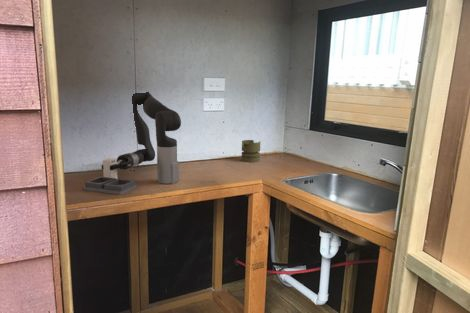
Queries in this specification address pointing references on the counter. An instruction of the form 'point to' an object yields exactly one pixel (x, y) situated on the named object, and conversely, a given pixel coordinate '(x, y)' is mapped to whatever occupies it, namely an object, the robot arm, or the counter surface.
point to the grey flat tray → (110, 185)
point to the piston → (250, 151)
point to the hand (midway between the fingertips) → (106, 167)
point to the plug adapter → (106, 168)
